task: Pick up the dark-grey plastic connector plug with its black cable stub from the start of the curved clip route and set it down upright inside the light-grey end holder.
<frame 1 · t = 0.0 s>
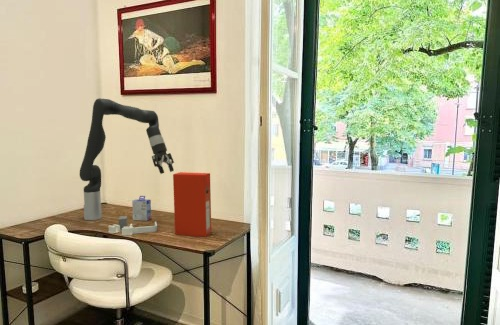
hand: (167, 172, 181), 31 cm above the table, tool tilted 20°, fingers open, 8 cm apart
file binder: (193, 234, 175), on the table
end holder: (143, 230, 182), on the table
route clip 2: (127, 234, 175), on the table
ink cartridge box: (142, 219, 203), on the table
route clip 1: (114, 232, 178), on the table
connector: (123, 227, 186), on the table
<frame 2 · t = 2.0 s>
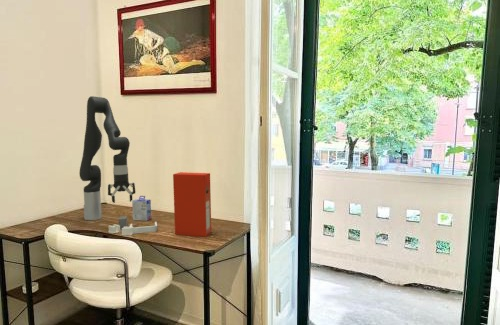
hand: (122, 202, 185), 15 cm above the table, tool pointing down, fingers open, 8 cm apart
nothing on the table moved.
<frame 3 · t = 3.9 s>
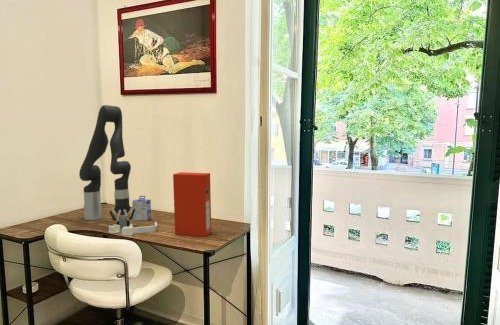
hand: (123, 226, 186), 0 cm above the table, tool pointing down, fingers closed on connector, 4 cm apart
connector: (123, 227, 186), on the table, touching gripper
everything else where it was.
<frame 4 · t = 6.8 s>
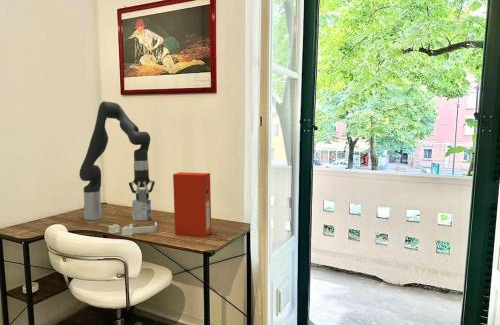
hand: (142, 200, 180), 17 cm above the table, tool pointing down, fingers closed on connector, 4 cm apart
connector: (142, 200, 180), point 16 cm above the table, touching gripper
everything else where it was.
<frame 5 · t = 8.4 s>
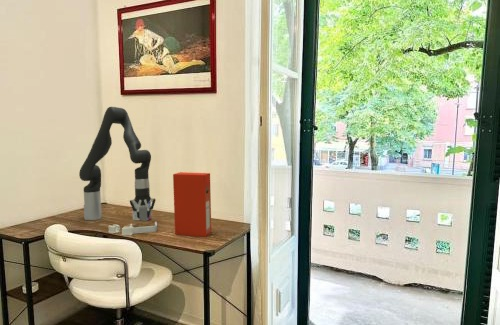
hand: (143, 217, 181), 7 cm above the table, tool pointing down, fingers closed on connector, 4 cm apart
connector: (143, 218, 181), point 6 cm above the table, touching gripper
everything else where it was.
when the fingers open (2 cm above the table, at t = 9.8 s): connector drops 1 cm, on the table.
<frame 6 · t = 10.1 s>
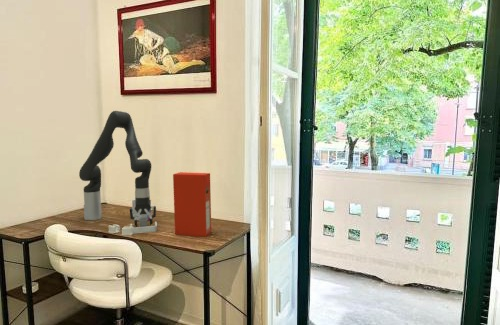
hand: (143, 225, 182), 2 cm above the table, tool pointing down, fingers open, 6 cm apart
connector: (143, 230, 182), on the table
everything else where it was.
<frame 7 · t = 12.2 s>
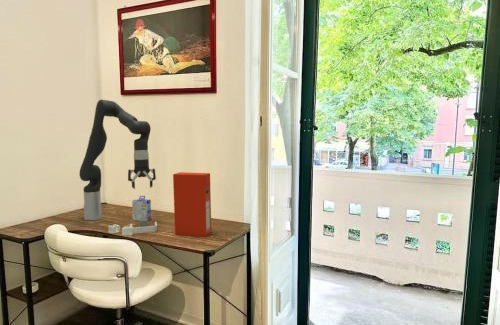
hand: (142, 188, 180), 23 cm above the table, tool pointing down, fingers open, 8 cm apart
nothing on the table moved.
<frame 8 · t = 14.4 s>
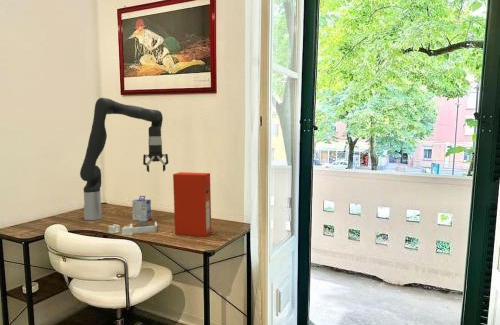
hand: (156, 171, 195), 30 cm above the table, tool pointing down, fingers open, 8 cm apart
nothing on the table moved.
at the end: connector inside the target area on the end holder (0.2 cm from its centre), point 0.0 cm above the end holder's base; connector tilted 0°; the gripper is holding nothing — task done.
